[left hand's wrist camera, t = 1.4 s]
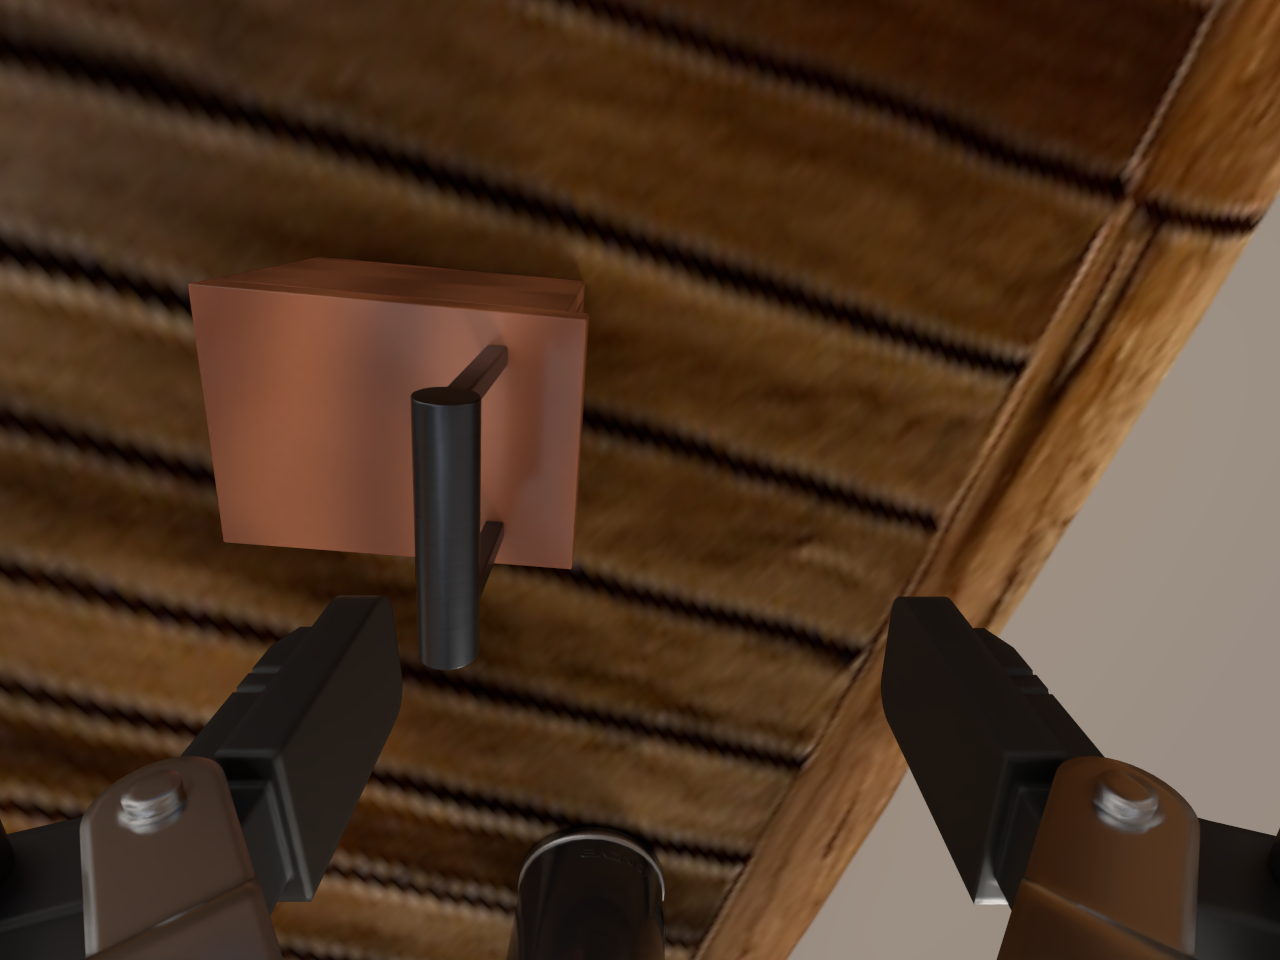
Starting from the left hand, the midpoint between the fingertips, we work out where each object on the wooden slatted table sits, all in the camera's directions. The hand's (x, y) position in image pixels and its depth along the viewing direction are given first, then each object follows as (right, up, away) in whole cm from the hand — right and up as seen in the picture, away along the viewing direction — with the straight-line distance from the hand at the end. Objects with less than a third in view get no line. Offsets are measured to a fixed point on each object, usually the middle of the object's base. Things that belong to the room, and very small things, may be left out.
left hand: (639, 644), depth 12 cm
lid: (-9, +5, +15) cm, 18 cm away
